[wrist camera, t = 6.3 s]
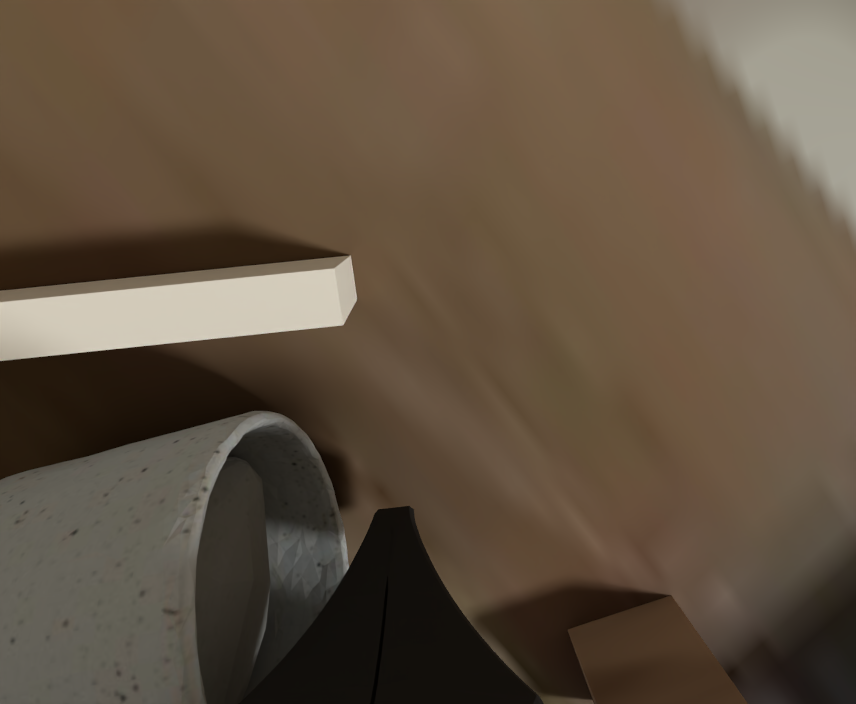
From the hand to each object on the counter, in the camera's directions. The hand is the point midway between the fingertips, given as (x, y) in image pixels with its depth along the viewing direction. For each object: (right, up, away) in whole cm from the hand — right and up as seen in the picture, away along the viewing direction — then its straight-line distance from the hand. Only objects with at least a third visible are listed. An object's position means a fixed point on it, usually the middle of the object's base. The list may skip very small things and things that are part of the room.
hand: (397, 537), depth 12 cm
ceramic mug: (-5, -1, +2) cm, 6 cm away
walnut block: (+9, -6, +5) cm, 12 cm away
